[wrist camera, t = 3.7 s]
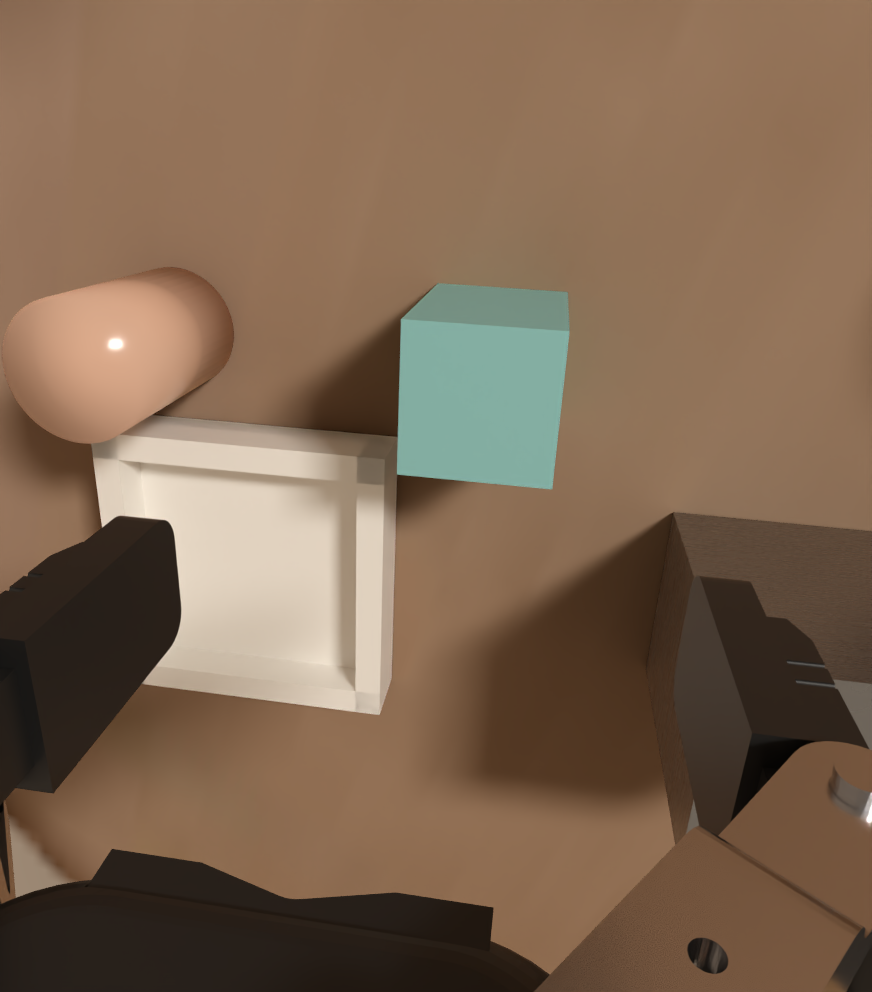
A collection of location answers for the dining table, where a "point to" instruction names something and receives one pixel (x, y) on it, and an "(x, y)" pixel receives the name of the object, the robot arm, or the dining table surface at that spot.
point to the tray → (268, 554)
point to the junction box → (783, 594)
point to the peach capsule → (115, 351)
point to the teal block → (482, 384)
